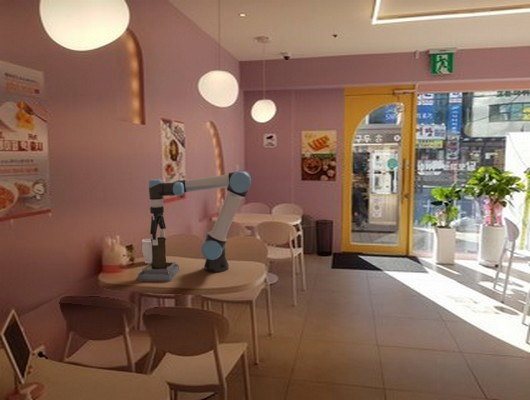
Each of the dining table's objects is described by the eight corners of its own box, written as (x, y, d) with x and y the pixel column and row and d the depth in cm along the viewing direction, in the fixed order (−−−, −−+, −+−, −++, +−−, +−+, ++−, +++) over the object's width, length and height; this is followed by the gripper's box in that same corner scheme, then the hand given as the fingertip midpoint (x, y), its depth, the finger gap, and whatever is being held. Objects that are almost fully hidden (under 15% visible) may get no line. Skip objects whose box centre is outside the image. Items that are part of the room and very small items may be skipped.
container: (163, 271, 234) (162, 240, 232) (148, 270, 236) (147, 239, 234) (169, 266, 243) (168, 237, 241) (155, 265, 245) (154, 236, 243)
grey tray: (179, 270, 250) (179, 261, 249) (169, 281, 230) (169, 271, 229) (150, 270, 251) (150, 261, 250) (138, 281, 231) (138, 270, 230)
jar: (150, 265, 263) (149, 242, 261) (139, 262, 268) (138, 240, 266) (162, 261, 271) (161, 239, 270) (152, 258, 277) (151, 237, 275)
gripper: (157, 203, 248) (159, 237, 250) (142, 209, 223) (145, 247, 226) (169, 203, 247) (171, 237, 250) (156, 209, 222) (158, 247, 225)
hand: (159, 242), depth 238 cm, fingers open, 13 cm apart
